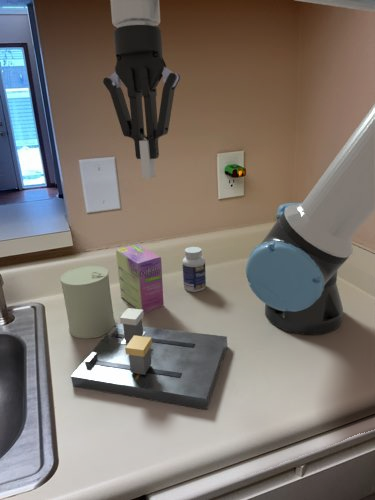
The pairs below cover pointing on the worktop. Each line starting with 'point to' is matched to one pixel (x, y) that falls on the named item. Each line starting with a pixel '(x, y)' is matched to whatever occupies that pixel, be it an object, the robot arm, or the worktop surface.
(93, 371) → the console
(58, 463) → the worktop surface
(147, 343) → the fader
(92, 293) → the can
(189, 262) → the pill bottle
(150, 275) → the box
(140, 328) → the fader
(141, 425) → the worktop surface
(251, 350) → the worktop surface
